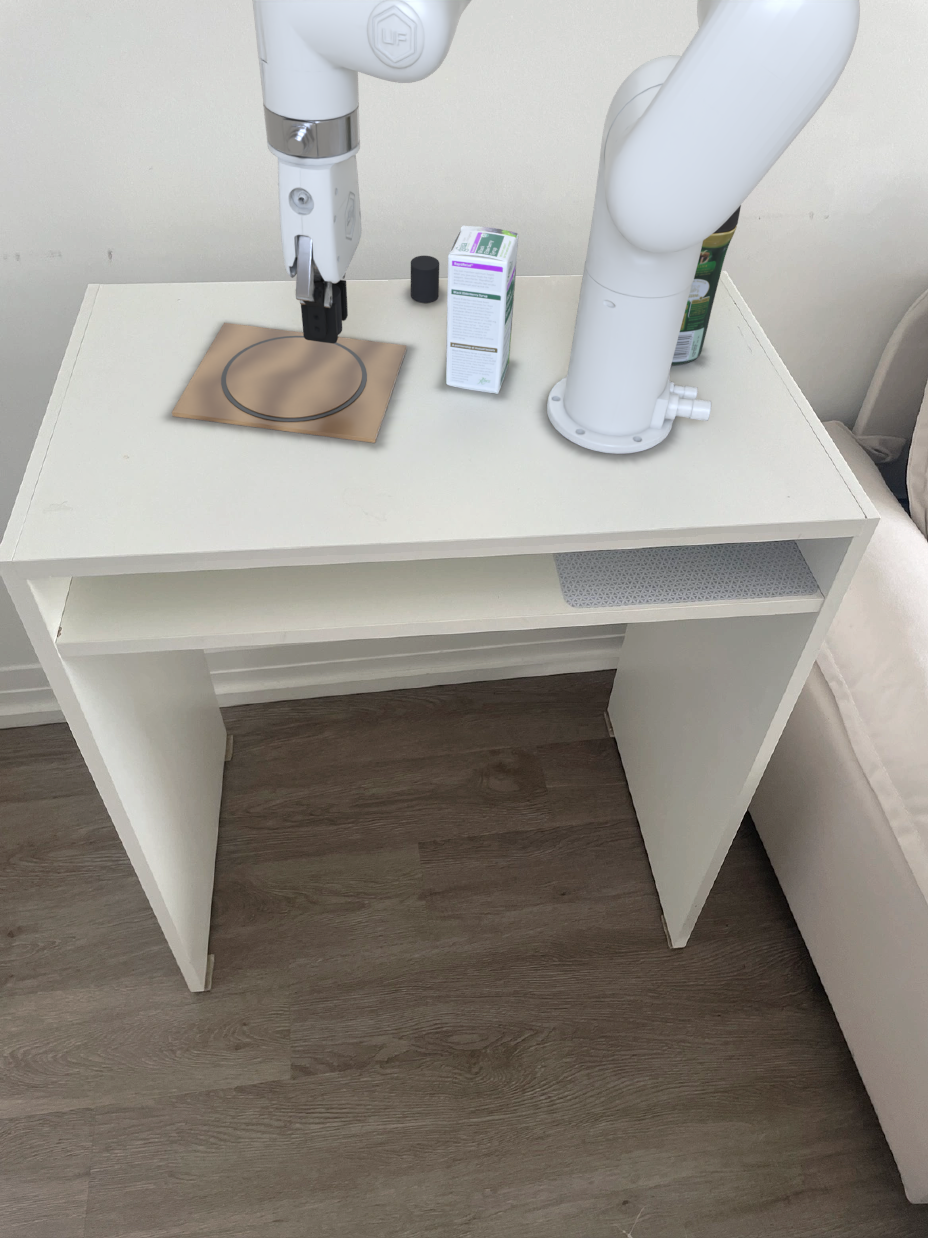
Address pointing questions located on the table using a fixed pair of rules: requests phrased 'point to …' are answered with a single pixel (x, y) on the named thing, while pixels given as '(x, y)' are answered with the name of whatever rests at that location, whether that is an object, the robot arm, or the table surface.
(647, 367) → the robot arm
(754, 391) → the table surface
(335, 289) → the black cylindrical block
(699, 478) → the table surface
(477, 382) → the syrup box
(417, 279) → the black cylinder
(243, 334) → the sketch board
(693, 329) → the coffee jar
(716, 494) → the table surface
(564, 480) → the table surface
